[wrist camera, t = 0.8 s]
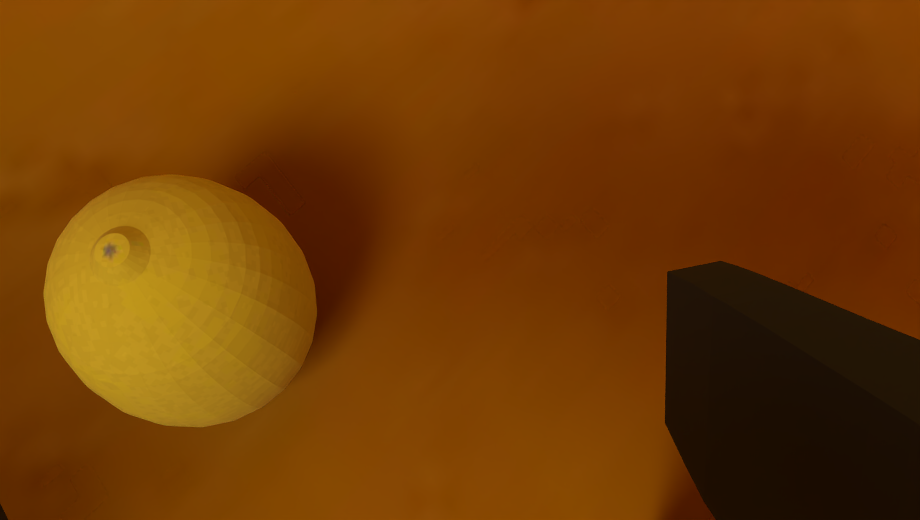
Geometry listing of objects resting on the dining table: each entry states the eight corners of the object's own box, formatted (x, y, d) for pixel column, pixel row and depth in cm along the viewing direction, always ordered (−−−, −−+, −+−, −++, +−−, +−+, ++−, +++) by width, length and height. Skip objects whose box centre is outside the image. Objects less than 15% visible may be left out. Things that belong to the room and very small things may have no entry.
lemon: (131, 284, 24) (-52, 170, 17) (316, 220, 24) (218, 78, 17) (172, 473, 22) (-11, 441, 15) (371, 403, 23) (289, 337, 15)
